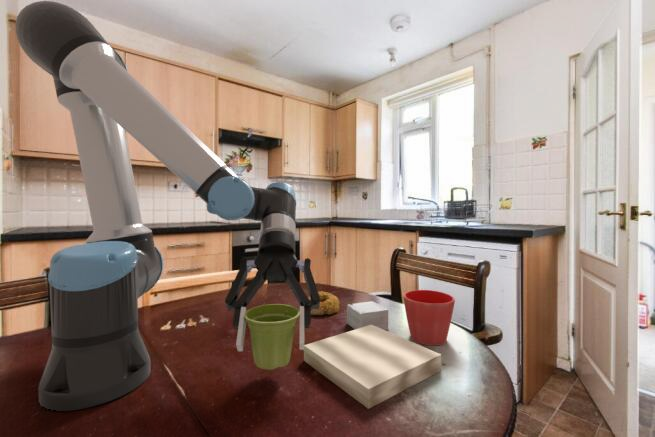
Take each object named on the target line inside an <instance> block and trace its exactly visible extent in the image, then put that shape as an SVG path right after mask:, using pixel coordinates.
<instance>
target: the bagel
mask: <svg viewBox="0 0 655 437" xmlns="http://www.w3.org/2000/svg"><path fill="white" fill-rule="evenodd" d="M318 294H319V297H320V306H319V308H318V309H312V310H311V316H323V315H332V314H336V313H338V312H339V310H340V300H339V297H338V296H336V295H334V294H332V293H330V292H326V291H318ZM308 299H309V300H311V298H310V296H308Z"/></svg>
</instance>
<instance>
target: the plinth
mask: <svg viewBox="0 0 655 437" xmlns="http://www.w3.org/2000/svg"><path fill="white" fill-rule="evenodd" d="M303 361H304V362H305V363H306V364H308V365H309V366H311V368H313V369H314V370H315V371H317V372H319V374H321V375H322V376H323V377H325V378H326V379H328V380H329V381H331V382H332V383H333V384H334V385H336V386H337V387H338V388H340V389H341V390H343V391H344V392H345V393H347V395H349V396H350V397H351V398H353V399H354V400H356V401H357V402H358V403H360V404H361V405H362V406H364V407H365V408H366V409H371V408H373V407H375V406H376V405H380V404H381V403H382V402H385V401H387V400H388V399H390V398H392V397H394V396H397V395H398V394H400V393H402V392H404V391H406V390H408V389H410V388H411V387H414V386H415V385H417V384H419V383H420V382H423V381H425V380H426V379H428V378H431V377H433V376H434V375H437V373H438V374H439V373H440V372H442V354H441V353H439V352H436V351H434V350H431V349H429V348H427V347H425V346H422V345H421V344H419V343H417V342H414V341H413V342H412V341H410V340H408V339H406V338H404V337H401V336H399V335H397V334H394V333H392V332H390V331H388V330H383V329H381V328H378V327H376V326H374V325H368V326H365V327H362V328H358V329H353V330H350V331H346V332H343V333H342V332H341V333H338V334H336V335H333V336H329V337H325V338H323V339H320V340H316V341H314V342H311V343H307V344H304V350H303Z"/></svg>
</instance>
